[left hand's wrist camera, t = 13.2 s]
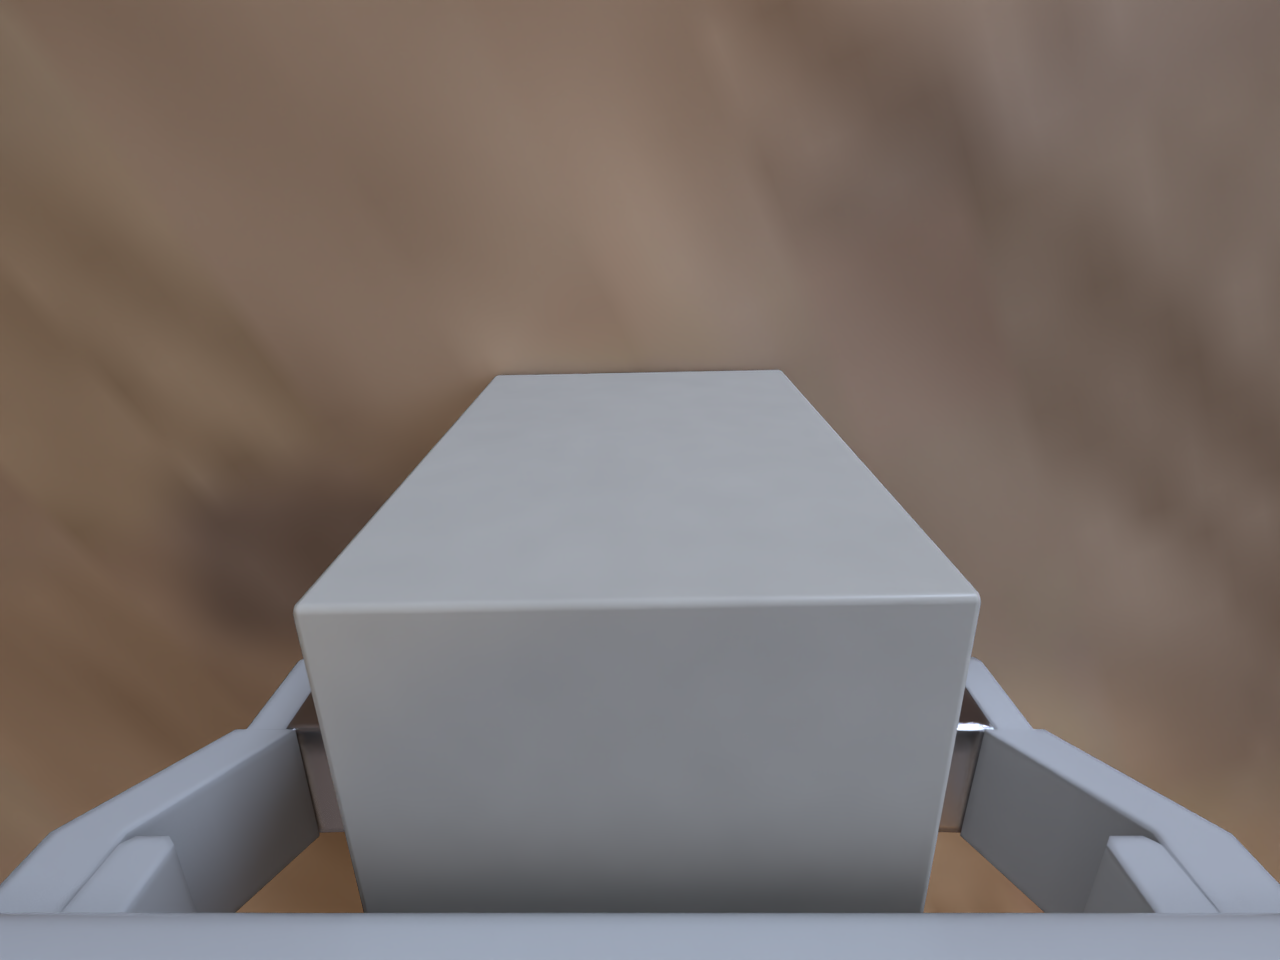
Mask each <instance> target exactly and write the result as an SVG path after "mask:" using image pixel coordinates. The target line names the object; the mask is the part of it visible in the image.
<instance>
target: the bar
mask: <svg viewBox="0 0 1280 960" xmlns="http://www.w3.org/2000/svg"><path fill="white" fill-rule="evenodd" d="M980 604H981V599H980V596H979V593H978V592H977V591H976V589H975V588H974V587H973V586H972V585H971V584H970V583H969V582H968V580H967V579H966V578H965V577H964V576H963V575H962V574H961V573H960V571H959V570H958V569H957V568H956V567H955V566H954V565H953V564H952V562H951V561H950V560H949V559H948V558H947V557H946V556H945V555H944V553H943V552H942V551H941V550H940V549H939V548H938V547H937V546H936V544H935V543H934V542H933V541H932V540H931V539H930V538H929V537H928V535H927V534H926V533H925V532H924V531H923V530H922V529H921V528H920V526H919V525H918V524H917V523H916V522H915V521H914V520H913V519H912V517H911V516H910V515H909V514H908V513H907V512H906V511H905V510H904V508H903V507H902V506H901V505H900V504H899V503H898V502H897V501H896V499H895V498H894V497H893V496H892V495H891V494H890V493H889V492H888V490H887V489H886V488H885V487H884V486H883V485H882V484H881V483H880V481H879V480H878V479H877V478H876V477H875V476H874V475H873V474H872V472H871V471H870V470H869V469H868V468H867V467H866V466H865V465H864V463H863V462H862V461H861V460H860V459H859V458H858V457H857V456H856V454H855V453H854V452H853V451H852V450H851V449H850V448H849V447H848V445H847V444H846V443H845V442H844V441H843V440H842V439H841V438H840V436H839V435H838V434H837V433H836V432H835V431H834V430H833V429H832V427H831V426H830V425H829V424H828V423H827V422H826V421H825V420H824V418H823V417H822V416H821V415H820V414H819V413H818V412H817V411H816V409H815V408H814V407H813V406H812V405H811V404H810V403H809V402H808V400H807V399H806V398H805V397H804V396H803V395H802V394H801V393H800V391H799V390H798V389H797V388H796V387H795V386H794V385H793V384H792V382H791V381H790V380H789V379H788V378H787V377H786V376H785V375H784V373H783V372H782V371H780V370H750V371H700V372H650V373H601V374H551V375H501V376H496V377H495V378H494V379H493V380H492V381H491V382H490V383H489V384H488V386H487V387H486V388H485V389H484V390H483V391H482V392H481V394H480V395H479V396H478V397H477V398H476V399H475V400H474V401H473V403H472V404H471V405H470V406H469V407H468V408H467V409H466V411H465V412H464V413H463V414H462V415H461V416H460V417H459V419H458V420H457V421H456V422H455V423H454V424H453V425H452V427H451V428H450V429H449V430H448V431H447V432H446V433H445V435H444V436H443V437H442V438H441V439H440V440H439V441H438V443H437V444H436V445H435V446H434V447H433V448H432V449H431V450H430V452H429V453H428V454H427V455H426V456H425V457H424V458H423V460H422V461H421V462H420V463H419V464H418V465H417V466H416V468H415V469H414V470H413V471H412V472H411V473H410V474H409V476H408V477H407V478H406V479H405V480H404V481H403V482H402V484H401V485H400V486H399V487H398V488H397V489H396V490H395V492H394V493H393V494H392V495H391V496H390V497H389V498H388V499H387V501H386V502H385V503H384V504H383V505H382V506H381V507H380V509H379V510H378V511H377V512H376V513H375V514H374V515H373V517H372V518H371V519H370V520H369V521H368V522H367V523H366V525H365V526H364V527H363V528H362V529H361V530H360V531H359V533H358V534H357V535H356V536H355V537H354V538H353V539H352V541H351V542H350V543H349V544H348V545H347V546H346V547H345V548H344V550H343V551H342V552H341V553H340V554H339V555H338V556H337V558H336V559H335V560H334V561H333V562H332V563H331V564H330V566H329V567H328V568H327V569H326V570H325V571H324V572H323V574H322V575H321V576H320V577H319V578H318V579H317V580H316V582H315V583H314V584H313V585H312V586H311V587H310V588H309V590H308V591H307V592H306V593H305V594H304V595H303V596H302V597H301V599H300V600H299V601H298V602H297V603H296V604H295V606H294V610H293V617H294V621H295V625H296V630H297V634H298V638H299V642H300V646H301V651H302V655H303V659H304V663H305V667H306V672H307V676H308V680H309V684H310V688H311V692H312V697H313V701H314V705H315V709H316V713H317V718H318V722H319V726H320V730H321V734H322V739H323V743H324V747H325V751H326V755H327V760H328V764H329V768H330V772H331V776H332V781H333V785H334V789H335V793H336V797H337V801H338V806H339V810H340V814H341V818H342V822H343V827H344V831H345V835H346V839H347V843H348V848H349V852H350V856H351V860H352V864H353V869H354V873H355V877H356V881H357V885H358V890H359V894H360V898H361V902H362V906H363V910H364V913H923V911H924V905H925V900H926V894H927V889H928V884H929V878H930V873H931V868H932V862H933V857H934V852H935V846H936V841H937V835H938V830H939V825H940V819H941V814H942V809H943V803H944V798H945V792H946V787H947V782H948V776H949V771H950V766H951V760H952V755H953V749H954V744H955V739H956V733H957V728H958V723H959V717H960V712H961V707H962V701H963V696H964V690H965V685H966V680H967V674H968V669H969V664H970V658H971V653H972V647H973V642H974V637H975V631H976V626H977V621H978V615H979V610H980Z"/></svg>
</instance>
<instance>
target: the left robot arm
mask: <svg viewBox="0 0 1280 960" xmlns="http://www.w3.org/2000/svg"><path fill="white" fill-rule="evenodd" d="M319 832H345V831H344V827H343V822H342V818H341V814H340V810H339V806H338V801H337V797H336V793H335V789H334V785H333V781H332V776H331V772H330V768H329V764H328V760H327V755H326V751H325V747H324V743H323V739H322V734H321V730H320V726H319V722H318V718H317V713H316V709H315V705H314V701H313V697H312V692H311V688H310V684H309V680H308V676H307V672H306V667H305V663H304V659H302V660H300V661H298V662H297V664H296V665H295V666H294V668H293V669H292V670H291V672H290V673H289V674H288V675H287V677H286V678H285V679H284V681H283V682H282V683H281V685H280V686H279V687H278V689H277V690H276V691H275V692H274V694H273V695H272V696H271V698H270V699H269V700H268V702H267V703H266V704H265V706H264V707H263V708H262V709H261V711H260V712H259V713H258V715H257V716H256V717H255V719H254V720H253V721H252V722H251V724H250V725H249V726H248V728H247V729H236V730H234V731H232V732H230V733H228V734H227V735H225V736H223V737H221V738H219V739H218V740H216V741H214V742H212V743H210V744H209V745H207V746H205V747H203V748H201V749H200V750H198V751H196V752H194V753H192V754H191V755H189V756H187V757H185V758H183V759H182V760H180V761H178V762H176V763H174V764H173V765H171V766H169V767H167V768H165V769H164V770H162V771H160V772H158V773H156V774H155V775H153V776H151V777H149V778H147V779H146V780H144V781H142V782H140V783H138V784H137V785H135V786H133V787H131V788H129V789H128V790H126V791H124V792H122V793H120V794H119V795H117V796H115V797H113V798H111V799H109V800H108V801H106V802H104V803H102V804H100V805H99V806H97V807H95V808H93V809H91V810H90V811H88V812H86V813H84V814H82V815H81V816H79V817H77V818H75V819H73V820H72V821H70V822H68V823H66V824H64V825H63V826H61V827H59V828H57V829H55V830H54V831H52V832H50V833H49V834H48V835H47V836H46V837H45V838H44V839H43V840H42V841H41V842H40V843H39V844H38V846H37V847H36V848H35V849H34V850H33V851H32V852H31V853H30V854H29V855H28V856H27V857H26V858H25V859H24V860H23V861H22V862H21V863H20V864H19V865H18V867H17V868H16V869H15V870H14V871H13V872H12V873H11V874H10V875H9V876H8V877H7V878H6V879H5V880H4V881H3V882H2V883H1V884H0V960H1280V884H1279V883H1278V882H1277V881H1276V880H1275V879H1274V878H1273V877H1272V876H1271V875H1270V874H1269V873H1268V872H1267V871H1266V870H1265V868H1264V867H1263V866H1262V865H1261V864H1260V863H1259V862H1258V861H1257V860H1256V859H1255V858H1254V857H1253V856H1252V855H1251V854H1250V853H1249V852H1248V851H1247V849H1246V848H1245V847H1244V846H1243V845H1242V844H1241V843H1240V842H1239V841H1238V840H1237V839H1236V838H1235V837H1234V836H1233V835H1232V834H1231V833H1229V832H1228V831H1226V830H1224V829H1222V828H1220V827H1219V826H1217V825H1215V824H1213V823H1211V822H1210V821H1208V820H1206V819H1204V818H1202V817H1201V816H1199V815H1197V814H1195V813H1193V812H1192V811H1190V810H1188V809H1186V808H1184V807H1183V806H1181V805H1179V804H1177V803H1175V802H1174V801H1172V800H1170V799H1168V798H1166V797H1165V796H1163V795H1161V794H1159V793H1157V792H1156V791H1154V790H1152V789H1150V788H1148V787H1147V786H1145V785H1143V784H1141V783H1139V782H1138V781H1136V780H1134V779H1132V778H1131V777H1129V776H1127V775H1125V774H1123V773H1122V772H1120V771H1118V770H1116V769H1114V768H1113V767H1111V766H1109V765H1107V764H1105V763H1104V762H1102V761H1100V760H1098V759H1096V758H1095V757H1093V756H1091V755H1089V754H1087V753H1086V752H1084V751H1082V750H1080V749H1078V748H1077V747H1075V746H1073V745H1071V744H1069V743H1068V742H1066V741H1064V740H1062V739H1060V738H1059V737H1057V736H1055V735H1053V734H1051V733H1050V732H1048V731H1046V730H1044V729H1033V728H1032V727H1031V725H1030V724H1029V723H1028V721H1027V720H1026V719H1025V717H1024V716H1023V715H1022V714H1021V712H1020V711H1019V710H1018V708H1017V707H1016V706H1015V704H1014V703H1013V702H1012V701H1011V699H1010V698H1009V697H1008V695H1007V694H1006V693H1005V691H1004V690H1003V689H1002V688H1001V686H1000V685H999V684H998V682H997V681H996V680H995V678H994V677H993V676H992V675H991V673H990V672H989V671H988V669H987V668H986V667H985V665H984V664H983V663H982V662H981V661H980V660H978V659H977V658H975V657H971V658H970V664H969V669H968V674H967V680H966V685H965V690H964V696H963V701H962V707H961V712H960V717H959V723H958V728H957V733H956V739H955V744H954V749H953V755H952V760H951V766H950V771H949V776H948V782H947V787H946V792H945V798H944V803H943V809H942V814H941V819H940V825H939V830H938V832H961V834H960V836H962V837H963V838H964V839H965V840H966V841H967V842H968V843H969V844H970V845H971V846H972V847H974V848H975V849H976V850H977V851H978V852H979V853H980V854H981V855H982V856H983V857H985V858H986V859H987V860H988V861H989V862H990V863H991V864H992V865H993V866H994V867H995V868H997V869H998V870H999V871H1000V872H1001V873H1002V874H1003V875H1004V876H1005V877H1006V878H1008V879H1009V880H1010V881H1011V882H1012V883H1013V884H1014V885H1015V886H1016V887H1017V888H1019V889H1020V890H1021V891H1022V892H1023V893H1024V894H1025V895H1026V896H1027V897H1028V898H1029V899H1031V900H1032V901H1033V902H1034V903H1035V904H1036V905H1037V906H1038V907H1039V908H1040V909H1042V910H1043V911H1044V912H1045V913H235V912H236V911H237V910H239V909H240V908H241V907H242V906H243V905H244V904H245V903H246V902H247V901H248V900H250V899H251V898H252V897H253V896H254V895H255V894H256V893H257V892H258V891H259V890H261V889H262V888H263V887H264V886H265V885H266V884H267V883H268V882H269V881H270V880H272V879H273V878H274V877H275V876H276V875H277V874H278V873H279V872H280V871H281V870H283V869H284V868H285V867H286V866H287V865H288V864H289V863H290V862H291V861H292V860H293V859H295V858H296V857H297V856H298V855H299V854H300V853H301V852H302V851H303V850H304V849H306V848H307V847H308V846H309V845H310V844H311V843H312V842H313V841H314V840H315V839H317V838H318V837H319Z"/></svg>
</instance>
